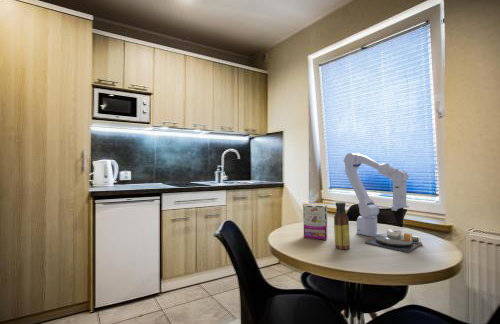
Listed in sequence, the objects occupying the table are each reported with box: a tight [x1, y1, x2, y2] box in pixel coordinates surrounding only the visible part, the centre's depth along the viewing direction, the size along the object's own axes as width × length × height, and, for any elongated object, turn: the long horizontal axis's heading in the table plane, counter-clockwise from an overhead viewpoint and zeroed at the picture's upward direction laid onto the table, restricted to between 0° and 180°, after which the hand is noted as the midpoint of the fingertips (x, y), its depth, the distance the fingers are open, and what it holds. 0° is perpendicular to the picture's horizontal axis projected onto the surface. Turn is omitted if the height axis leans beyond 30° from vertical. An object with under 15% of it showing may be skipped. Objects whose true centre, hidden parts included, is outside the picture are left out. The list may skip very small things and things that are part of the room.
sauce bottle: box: [333, 201, 351, 250], centre depth 117 cm, size 6×6×20 cm
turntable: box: [375, 232, 413, 246], centre depth 123 cm, size 15×15×5 cm
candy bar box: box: [302, 204, 328, 241], centre depth 133 cm, size 11×5×16 cm, turn 68°
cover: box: [386, 228, 402, 239], centre depth 123 cm, size 6×6×3 cm
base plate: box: [365, 234, 423, 254], centre depth 123 cm, size 18×18×3 cm
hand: (399, 224), depth 128 cm, fingers closed
